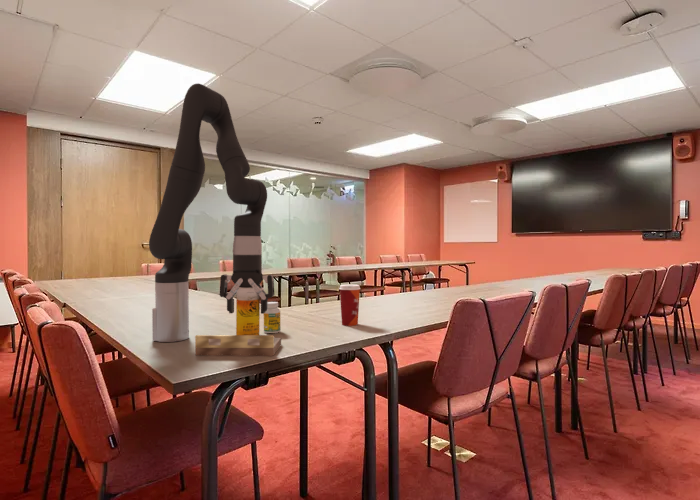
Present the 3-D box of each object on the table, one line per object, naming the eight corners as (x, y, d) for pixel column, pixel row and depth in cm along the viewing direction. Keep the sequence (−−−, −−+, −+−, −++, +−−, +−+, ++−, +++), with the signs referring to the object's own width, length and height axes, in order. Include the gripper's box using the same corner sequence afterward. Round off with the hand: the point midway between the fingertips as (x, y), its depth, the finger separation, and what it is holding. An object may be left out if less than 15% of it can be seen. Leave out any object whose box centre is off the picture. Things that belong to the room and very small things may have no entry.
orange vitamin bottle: (244, 346, 107) (245, 288, 107) (231, 342, 111) (232, 286, 111) (263, 341, 111) (264, 286, 111) (250, 338, 116) (251, 284, 115)
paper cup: (360, 326, 142) (360, 286, 142) (338, 326, 142) (338, 286, 142) (360, 322, 150) (360, 283, 149) (339, 322, 150) (339, 283, 150)
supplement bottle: (276, 329, 137) (276, 301, 137) (283, 332, 132) (283, 302, 132) (261, 331, 134) (261, 302, 134) (267, 334, 129) (267, 304, 129)
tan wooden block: (195, 355, 105) (195, 336, 105) (210, 344, 116) (210, 327, 116) (273, 355, 105) (272, 336, 105) (281, 345, 116) (280, 327, 116)
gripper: (276, 253, 114) (276, 311, 115) (225, 252, 115) (225, 310, 115) (270, 253, 107) (270, 315, 107) (216, 253, 107) (216, 315, 107)
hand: (247, 313), depth 111 cm, fingers open, 8 cm apart
